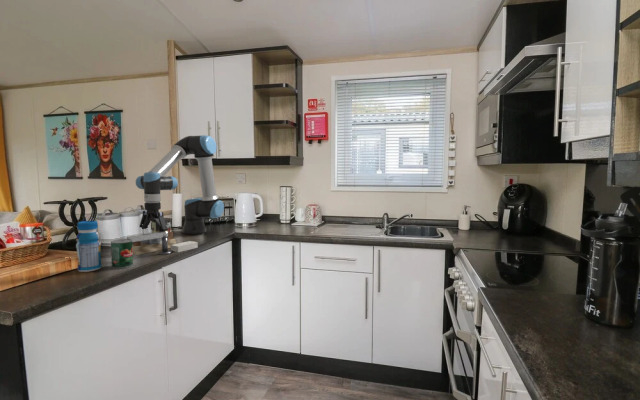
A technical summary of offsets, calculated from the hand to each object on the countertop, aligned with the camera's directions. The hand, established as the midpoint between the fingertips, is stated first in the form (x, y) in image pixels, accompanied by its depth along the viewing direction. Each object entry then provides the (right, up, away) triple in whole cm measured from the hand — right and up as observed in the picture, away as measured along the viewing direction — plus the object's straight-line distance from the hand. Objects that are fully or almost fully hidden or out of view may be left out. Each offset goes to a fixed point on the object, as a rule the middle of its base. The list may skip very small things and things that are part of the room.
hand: (153, 242), depth 169 cm
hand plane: (0, -4, 0) cm, 4 cm away
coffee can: (-4, -3, +16) cm, 17 cm away
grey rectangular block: (0, 0, 0) cm, 0 cm away
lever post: (+9, -5, -7) cm, 13 cm away
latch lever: (+5, +3, -14) cm, 15 cm away
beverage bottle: (-9, -7, -35) cm, 36 cm away
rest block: (+15, -4, +2) cm, 16 cm away
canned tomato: (+2, -7, -29) cm, 30 cm away
